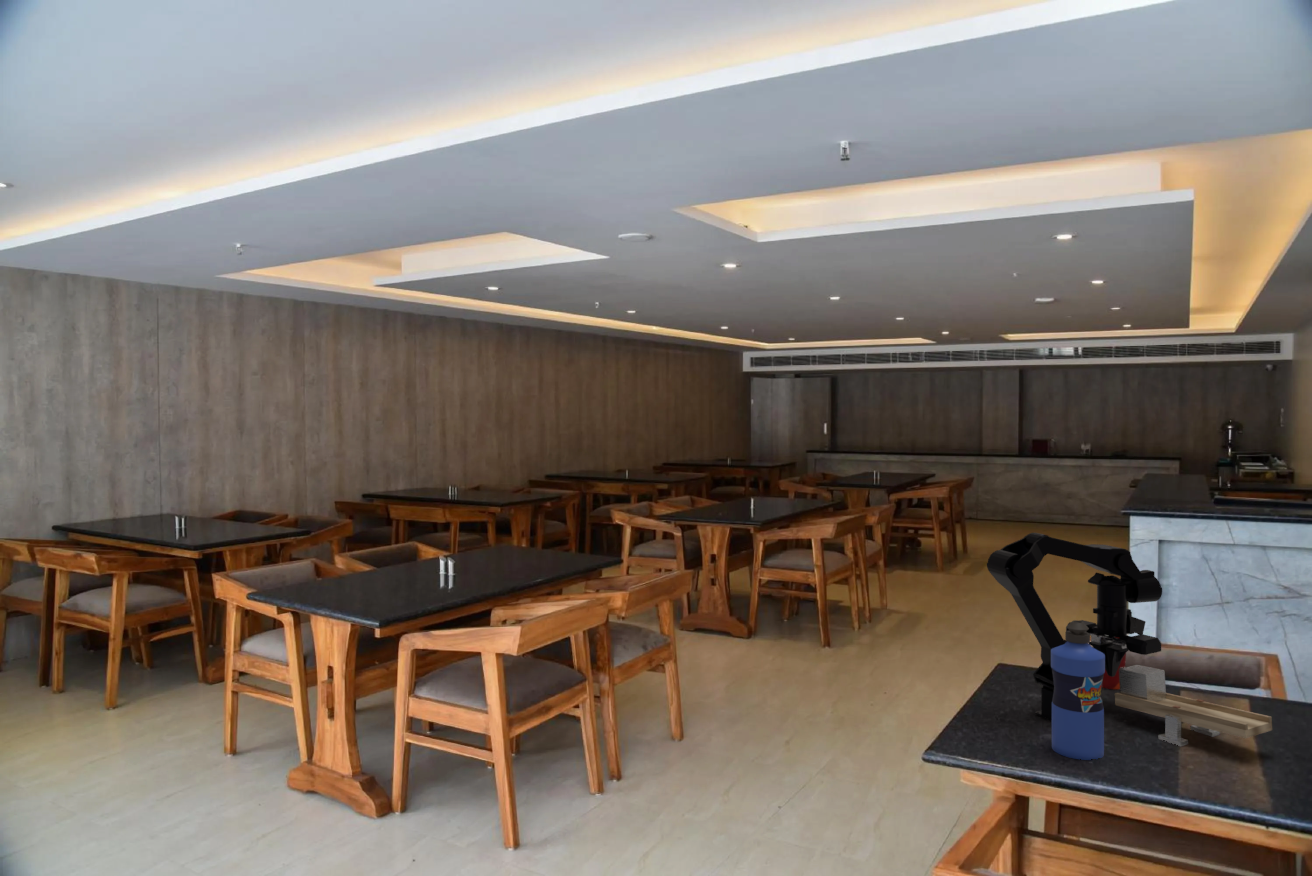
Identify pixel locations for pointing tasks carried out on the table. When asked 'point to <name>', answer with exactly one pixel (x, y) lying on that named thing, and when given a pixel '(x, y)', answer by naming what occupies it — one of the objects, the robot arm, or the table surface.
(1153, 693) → the metal block
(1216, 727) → the oak beam
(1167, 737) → the pivot stand
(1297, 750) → the table surface
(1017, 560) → the robot arm
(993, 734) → the table surface
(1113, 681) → the paper cup
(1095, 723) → the water bottle
